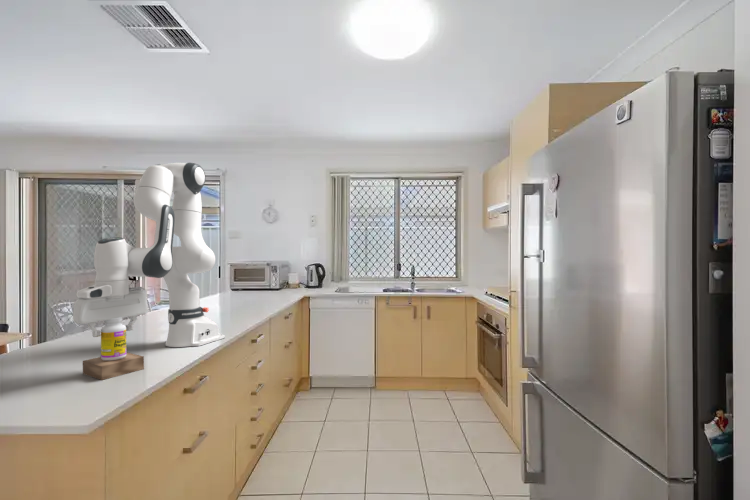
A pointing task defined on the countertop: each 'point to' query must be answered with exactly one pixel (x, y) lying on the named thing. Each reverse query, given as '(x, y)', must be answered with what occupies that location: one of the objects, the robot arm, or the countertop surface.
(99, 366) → the walnut base
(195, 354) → the countertop surface
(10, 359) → the countertop surface
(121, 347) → the supplement bottle
